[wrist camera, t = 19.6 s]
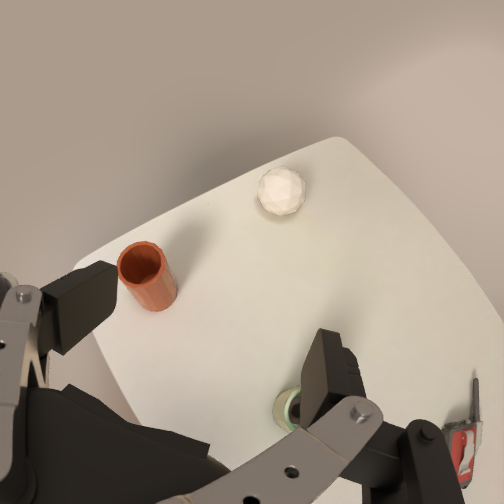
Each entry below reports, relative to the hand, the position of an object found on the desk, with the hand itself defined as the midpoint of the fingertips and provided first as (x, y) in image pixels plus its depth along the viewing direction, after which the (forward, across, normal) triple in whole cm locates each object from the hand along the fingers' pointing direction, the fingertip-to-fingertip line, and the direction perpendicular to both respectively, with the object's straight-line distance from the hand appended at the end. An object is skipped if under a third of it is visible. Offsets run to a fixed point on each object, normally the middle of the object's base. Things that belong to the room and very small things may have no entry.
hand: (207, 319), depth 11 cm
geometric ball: (+42, 0, 0) cm, 42 cm away
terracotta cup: (+27, +13, +15) cm, 34 cm away
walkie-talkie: (+18, -39, +23) cm, 49 cm away
